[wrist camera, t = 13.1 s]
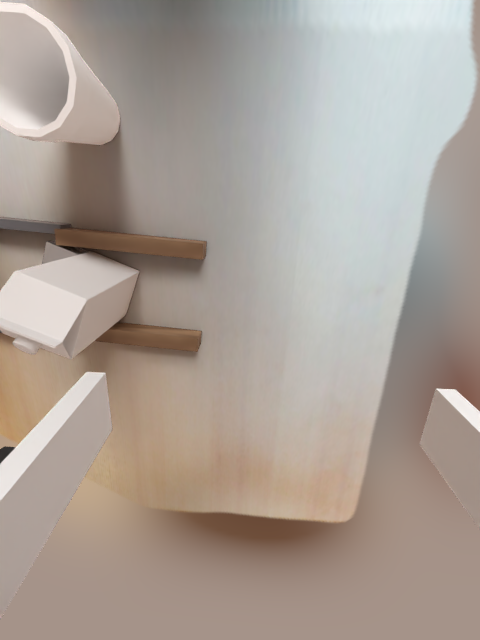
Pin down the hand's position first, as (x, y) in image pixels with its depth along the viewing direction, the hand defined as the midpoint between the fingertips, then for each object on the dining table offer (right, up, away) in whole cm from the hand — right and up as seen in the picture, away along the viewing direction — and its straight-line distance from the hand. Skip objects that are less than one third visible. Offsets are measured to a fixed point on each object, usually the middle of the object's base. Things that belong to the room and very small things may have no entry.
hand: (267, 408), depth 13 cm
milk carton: (-20, +9, +33) cm, 39 cm away
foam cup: (-19, +28, +26) cm, 43 cm away
